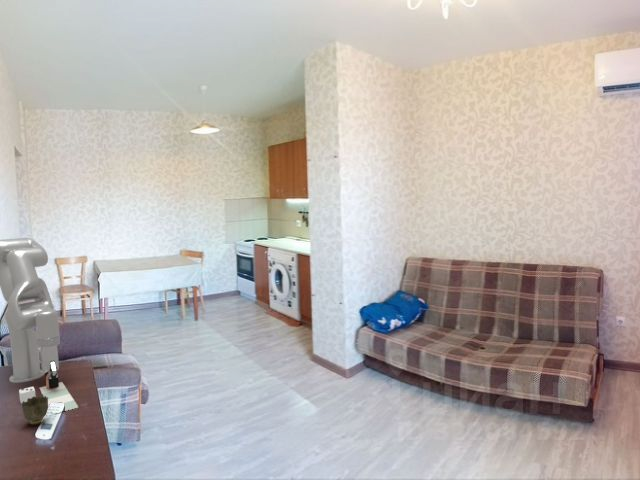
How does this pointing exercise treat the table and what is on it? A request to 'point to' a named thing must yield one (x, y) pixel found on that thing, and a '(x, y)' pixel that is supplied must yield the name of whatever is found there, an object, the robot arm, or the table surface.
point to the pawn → (48, 382)
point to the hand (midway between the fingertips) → (52, 384)
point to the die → (26, 394)
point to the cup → (35, 409)
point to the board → (59, 396)
